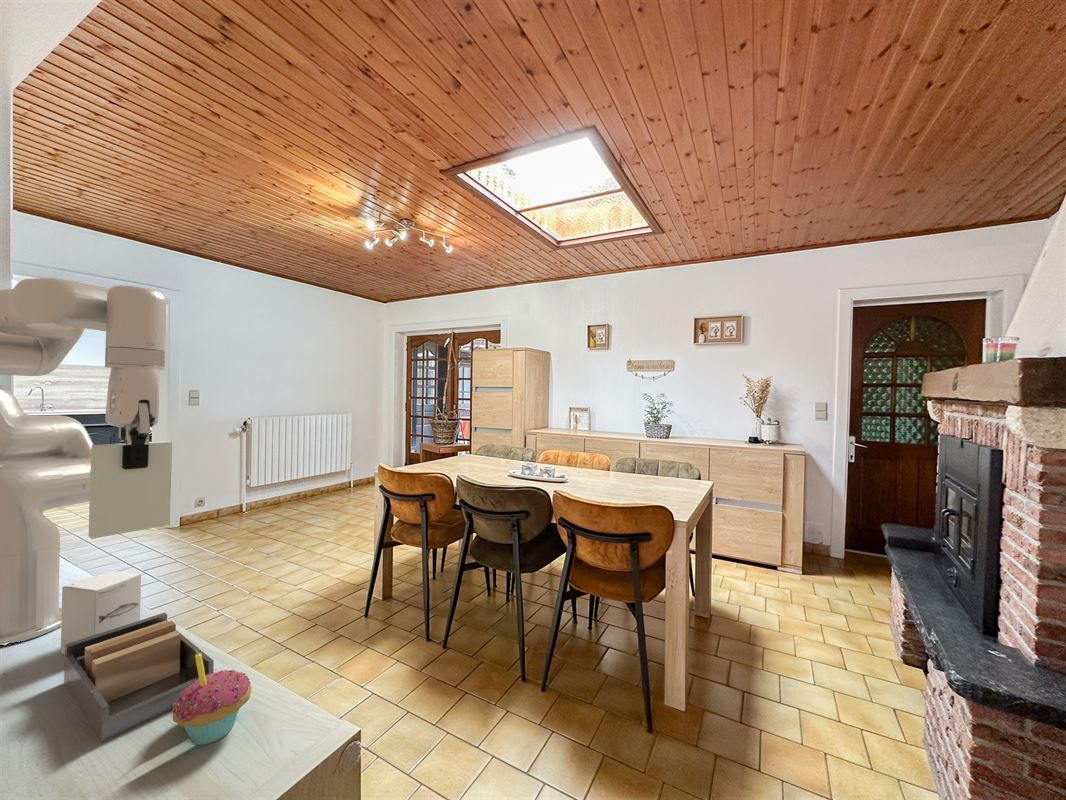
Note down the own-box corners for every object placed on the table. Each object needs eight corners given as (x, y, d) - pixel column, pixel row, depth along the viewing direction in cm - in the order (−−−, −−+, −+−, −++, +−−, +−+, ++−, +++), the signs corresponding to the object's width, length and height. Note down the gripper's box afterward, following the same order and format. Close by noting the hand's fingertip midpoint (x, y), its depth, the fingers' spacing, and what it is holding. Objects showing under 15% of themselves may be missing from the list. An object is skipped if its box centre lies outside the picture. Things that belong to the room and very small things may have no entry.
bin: (63, 690, 65) (64, 644, 65) (164, 652, 75) (164, 612, 75) (101, 752, 54) (102, 696, 54) (212, 697, 64) (213, 651, 64)
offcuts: (84, 691, 63) (85, 644, 63) (166, 659, 71) (167, 617, 71) (95, 707, 60) (96, 657, 60) (179, 671, 68) (180, 627, 68)
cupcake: (187, 768, 52) (189, 669, 52) (160, 737, 57) (162, 647, 57) (262, 723, 59) (264, 637, 59) (233, 699, 64) (234, 619, 64)
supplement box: (92, 667, 71) (94, 590, 71) (58, 660, 72) (60, 585, 72) (141, 642, 78) (142, 573, 78) (109, 637, 80) (111, 569, 80)
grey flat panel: (88, 536, 70) (91, 445, 70) (165, 522, 79) (168, 441, 78) (91, 539, 69) (94, 446, 69) (169, 524, 77) (172, 441, 77)
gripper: (93, 359, 75) (90, 464, 75) (119, 357, 66) (116, 476, 66) (149, 363, 81) (146, 460, 81) (180, 361, 72) (176, 470, 72)
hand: (132, 466), depth 74 cm, fingers closed on grey flat panel, 2 cm apart
